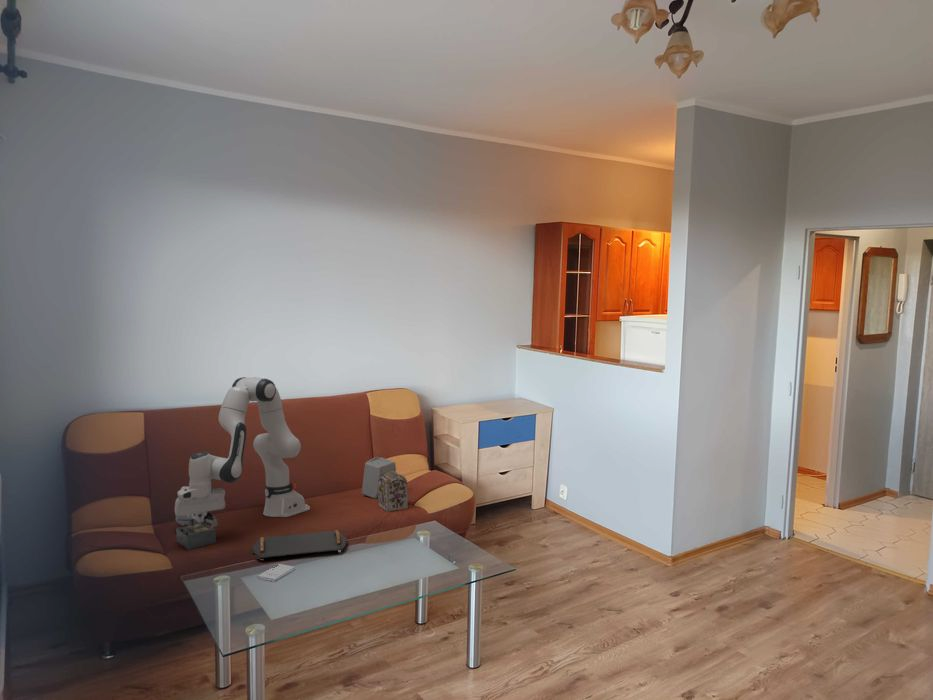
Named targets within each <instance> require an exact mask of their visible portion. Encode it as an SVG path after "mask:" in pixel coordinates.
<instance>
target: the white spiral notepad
mask: <svg viewBox="0 0 933 700" xmlns="http://www.w3.org/2000/svg"><path fill="white" fill-rule="evenodd" d="M277 564H278V565H279V566H277V567H275V568H272V567H270V568H271V569H270V568H268V569H269V570H268V569H267V570H266V571H265V570H264V572H262V573H259V574H258V575H257V576H258V577H263V578H266V579H271V580H276V579H277V578H279V577H280V576H282V575H284V574H285V573H287V572H288V571H290V570H292V569H294V568H295V569H296V566H292V565H288V564H282V563H277ZM272 569H273V570H272Z"/></svg>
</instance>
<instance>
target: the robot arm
mask: <svg viewBox="0 0 933 700" xmlns="http://www.w3.org/2000/svg"><path fill="white" fill-rule="evenodd" d="M250 402H257V408H258V413H259V414H258V415H259V419H260V424H261V427H262V428H263V429H264V430H265V431H266V432H265V433H260V434H257V435H256V436H255V438H254V439H253V444H252V446H253V449H254V452H256V453H257V454H258V455H259V457H260V459H261V461H262V463H263V466H264V471H265V487H264V496H265V503H264V509H263V513H262V515H264V516H265V517H271V518H279V517H280V518H288V517H291V516H295V515H298V514H300V513H304V512H307V511H310V510H311V507H310V505H308V504H307V503H306V501H305V498H304V495H302V494H300V493H299V492H298V491H296V490H294V489H297V484H296V483H291V482H290V469H289V467H288V464H287V463H285V461H284V460H283V459H290V458H295V457H297V456H298V455H299V453H300V451H301V448H302V445H301V442H300V439H298V438H297V437H296V436H295V435H294V434H293V433H292V431H291V429H290V428H289V426H288V424H287V422H286V419H285V418H286V417H285V414H284V409H283V403H282V399H281V396H280V393H279V391H278V389H277V387H276V384H275V383H274V381H272V380H270V379H268V378H261V377H239V378H238V377H237V378H236V379H235V380H234V382H233V383H232V386H231V387H230V388H229V389H228V391H227V392H226V394H225V396H224V398H223V401H222V404H221V406H220V410H219V413H218V419H217V420H218V422H219V425H220V426H221V427H222V428H223V429H224V430H225V431H226V432H227V433H228V434H229V435H230V437H231V438H230V439H231V442H230V448H229V453H228V457H227V458H226V457H222V456H221V457H220V456H216V455H212V454H210V453H209V452H208V451H207V452H206V451H199V452H196V453H194V454H192V455H191V456H190V458H189V461H188V462H189V463H188V476H189V482H188V486H187V487H186V488H184V489H182V490H180V489H179V490H178V491H177V498H176V499H175V502H174V513H175V514H176V515H177V516H181V515H188V514H194V513H195V516H196V517H197V521H198V523H201V522H203V518H204V517H205V515H206V512H213V511H219V510H223V509H225V507H226V501H225V496H226V490H225V488H222V487H218V488H212V481H211V480H213V479H215V480H218V481H222V482H224V483H229V484H233V483H234V482H236V481H238V480H239V479H240V477H241V476H242V474H243V466H244V464H243V462H244V461H243V460H244V459H243V458H244V453H245V452H244V451H245V447H246V445H245V444H246V439H247V426H246V422H245V419H246V414H247V412H248V406H249V403H250ZM201 512H202V516H201V518H199V517H198V515H199V513H201ZM176 515H175V516H176Z"/></svg>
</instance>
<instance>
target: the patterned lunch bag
mask: <svg viewBox="0 0 933 700" xmlns="http://www.w3.org/2000/svg"><path fill="white" fill-rule="evenodd" d="M408 486H409V485H408V480H407V478H406V476H405V475H403V474H399V473H398V472H397V471H396V472H389V473H388V474H387V475H384V476H382V477H381V478H380V479H379V480H378V498H377V499H378V502H377V503H378V506H379V507H380V508H381V509H383V510H384V511H385V512H387V513H388V512H395V511H401V510H402V511H403V510H407V509H408V508H409V507H408V506H409V505H408V503H409V495H408V494H409V487H408Z"/></svg>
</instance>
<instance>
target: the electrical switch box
mask: <svg viewBox="0 0 933 700" xmlns="http://www.w3.org/2000/svg"><path fill="white" fill-rule="evenodd" d="M389 472H397V467H396V462H395V461H394V460H390V459H387V458H385V457H383V456H382V457H381V456H380V457H373V458H371V459H369V460H368V461H366V462H365V464H364V472H363V478H362V479H363V481H362V486H361V487H362V489H361V494H362V495H364V496H367V497H370V498H372V499H375V500H376V499H378V480H379V479H380V478H381V477H382V476H384V475H387V474H388V473H389Z"/></svg>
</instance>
